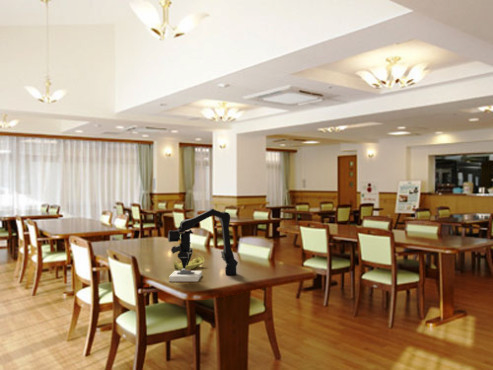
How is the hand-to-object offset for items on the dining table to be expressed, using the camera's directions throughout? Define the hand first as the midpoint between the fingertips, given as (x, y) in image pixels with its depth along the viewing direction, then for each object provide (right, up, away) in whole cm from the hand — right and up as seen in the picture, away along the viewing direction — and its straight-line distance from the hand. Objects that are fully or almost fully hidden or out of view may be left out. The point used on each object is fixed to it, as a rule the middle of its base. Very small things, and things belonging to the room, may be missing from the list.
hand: (185, 266), depth 253 cm
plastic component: (-2, -8, +32) cm, 33 cm away
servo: (0, -7, 0) cm, 7 cm away
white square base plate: (0, -7, 0) cm, 7 cm away
